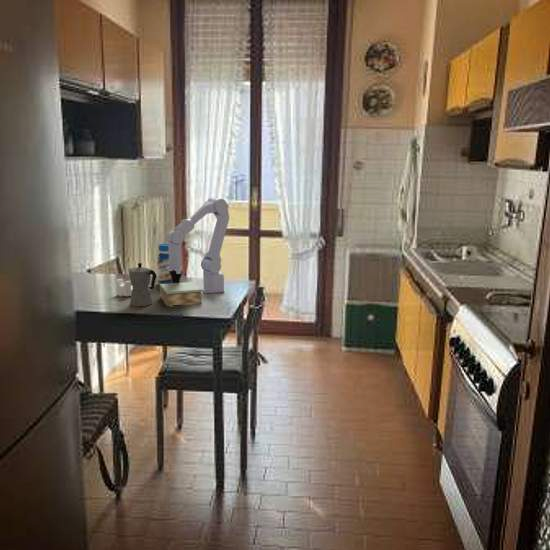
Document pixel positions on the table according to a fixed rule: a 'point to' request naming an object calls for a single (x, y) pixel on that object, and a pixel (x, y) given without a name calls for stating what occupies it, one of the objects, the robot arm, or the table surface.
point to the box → (181, 298)
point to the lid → (180, 288)
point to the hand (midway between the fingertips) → (175, 286)
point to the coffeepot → (141, 285)
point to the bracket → (124, 288)
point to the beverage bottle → (163, 265)
